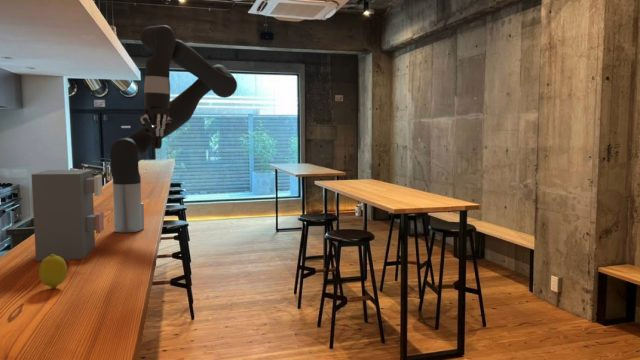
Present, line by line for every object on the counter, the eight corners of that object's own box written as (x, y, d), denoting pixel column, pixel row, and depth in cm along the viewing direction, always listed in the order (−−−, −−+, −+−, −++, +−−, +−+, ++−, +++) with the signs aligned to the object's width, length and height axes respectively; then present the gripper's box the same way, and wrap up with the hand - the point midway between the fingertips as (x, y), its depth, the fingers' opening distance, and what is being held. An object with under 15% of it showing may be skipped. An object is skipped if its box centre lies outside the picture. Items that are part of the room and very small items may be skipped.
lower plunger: (103, 229, 140) (103, 211, 139) (99, 233, 134) (99, 214, 134) (71, 230, 137) (70, 212, 137) (65, 234, 132) (64, 215, 132)
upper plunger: (102, 193, 138) (101, 175, 138) (98, 195, 133) (97, 176, 133) (69, 193, 136) (68, 175, 136) (63, 196, 131) (63, 177, 130)
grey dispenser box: (95, 246, 143) (92, 169, 141) (83, 258, 130) (80, 173, 127) (52, 248, 141) (48, 170, 138) (36, 261, 127) (31, 174, 125)
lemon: (55, 293, 102) (53, 258, 102) (34, 291, 103) (32, 256, 103) (73, 285, 108) (71, 251, 107) (52, 283, 109) (51, 250, 108)
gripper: (149, 90, 135) (149, 149, 137) (181, 94, 147) (180, 149, 149) (131, 90, 138) (131, 148, 140) (164, 94, 150) (163, 147, 152)
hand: (156, 148), depth 144 cm, fingers closed
